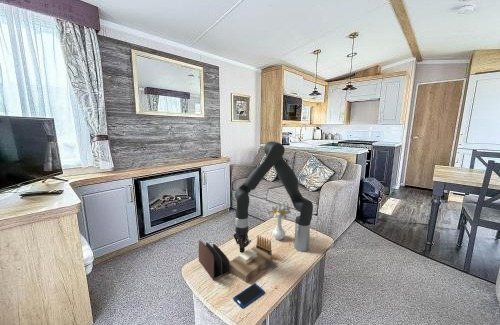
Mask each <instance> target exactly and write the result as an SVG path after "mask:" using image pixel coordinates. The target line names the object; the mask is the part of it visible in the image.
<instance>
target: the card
mask: <svg viewBox="0 0 500 325" xmlns="http://www.w3.org/2000/svg"><path fill="white" fill-rule="evenodd" d="M238 256H239V260H240V261H242V262H244V263H245V264H247V263H249V262H250V261H252V260H253V259H254V258H256V257H257V252H255V251H253V250H251V248H248V249H245V251H244V252H243V253H241V252H240V254H238Z"/></svg>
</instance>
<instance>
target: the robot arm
mask: <svg viewBox="0 0 500 325" xmlns="http://www.w3.org/2000/svg"><path fill="white" fill-rule="evenodd" d="M263 150H264V154H265V155H266V157H265V158H264V159H263V161H262V162H261V163H260V164H259V165H258V166H256V167H255V168H254V169H253V170H252V171H251V172H250V174H249V175H248V177H247V178H246V179H245V181H244V182H243V183H242V184H241V185H239V187H238V188H237V189H236V191H235V192H234V198H235V200H236V208H235V219H234V220H235V221H234V222H235V224H234V225H235V233H234V234H233V238H234V240H235V243H236V245H238V246H239V252H240V254H241V253H243V252H245V251H246V249H245V248H246V247H248V246H249V245H250V243H252V240H251V239H250V238H249V235H248V234H249V205H250V195H249V194H250V193H251V191H254V190H255V189H256V188H257V187H258V185H259V184H260V182H262V180H263V178H264V177H266V175H267V173H268V172H269V171H270V170H271V169H272V168H273V167H274V169H275V172H276V173H277V176H278V178H279V179H280V182H281V184H282V185H283V187H284V189H285V191H286V193H287V194H288V196H289V198H290V200H291V203H292V206H293V208H294V209H295V210H296V211H298V212H299V215H297V216H296V217H295V219H294V220H295V224H294V245H293V247H294V249H295V250H296V251H297V252H307V251H309V250H310V249H309V248H310V235H311V233H310V232H311V221H312V219H313V214H314V213H313V212H314V204H313V202H312V201H311V200H310V199H308V198H305V197H304V196H303V195H302V193H301V192H300V190H299V185H300V182H299V180H298V177H297V175H296V173H295V171H294V170H293V168H291V166H290V165H289V164H288V162H286V161H285V158H283V157H284V154H285V146H284V145H283V144H282V143H280V142H278V141H267V142H266V144H265V145H264V148H263Z"/></svg>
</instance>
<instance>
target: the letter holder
mask: <svg viewBox="0 0 500 325" xmlns="http://www.w3.org/2000/svg"><path fill="white" fill-rule="evenodd" d="M198 261H199V263H200V265H201V266H202V267H203V268H204V270H205V272H206V273H207V274H208V275H209V277H210V278H211V280H212V281H215V280H218V279H219V278H222V277H225V275H229V274H230V273H231V272H230V260H229V258H228V256H227V255H226V253H224V252H223V251H222V249H221V248H220V247H219V246H217V245H216V244H215V243H213V244H212V245H211V244H210V243H209V242H205V243H204V242H203V241H202V240H198Z"/></svg>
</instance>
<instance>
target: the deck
mask: <svg viewBox="0 0 500 325" xmlns="http://www.w3.org/2000/svg"><path fill="white" fill-rule="evenodd" d="M250 249H251V250H253V251H255V252H257V257H256V258H254V259H253V260H252V261H250V262H249V263H247V264H245V263H244V262H242V261H240V260H239V255H238V256H236V257H235V258H234V259H232V260H229V262H230V273H231V274H233V275H235V276H236V277H237V278H239V279H240V280H242V281H243V282H244V283H247V282H248V281H250V280H251V279H252V278H254V277H255V276H256V275H257V274H259V273H260V272H261V271H264V270H263V269H264V268H265V267H266V266H268V265H269V264H270V263H272V264H273V255H272V256H271V255H269V254H268V253H266V252H264V251H262V250H260V249H258V248H256V246H253V247H251V248H250Z"/></svg>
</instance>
